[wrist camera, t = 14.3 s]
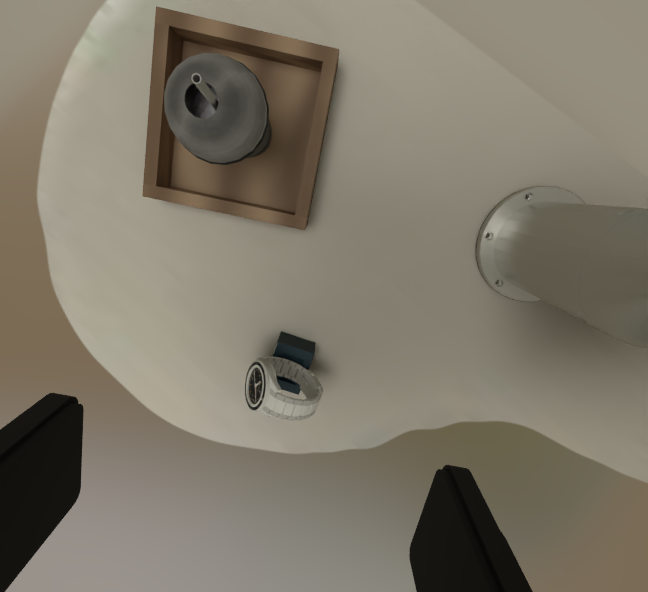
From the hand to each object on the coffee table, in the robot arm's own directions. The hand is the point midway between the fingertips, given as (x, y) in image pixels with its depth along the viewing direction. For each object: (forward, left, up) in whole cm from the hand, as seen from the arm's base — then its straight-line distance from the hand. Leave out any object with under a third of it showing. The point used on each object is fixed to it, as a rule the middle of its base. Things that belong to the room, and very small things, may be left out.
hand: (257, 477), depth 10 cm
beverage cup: (+8, -11, -34) cm, 36 cm away
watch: (0, +13, -34) cm, 37 cm away
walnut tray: (+9, -11, -34) cm, 37 cm away
